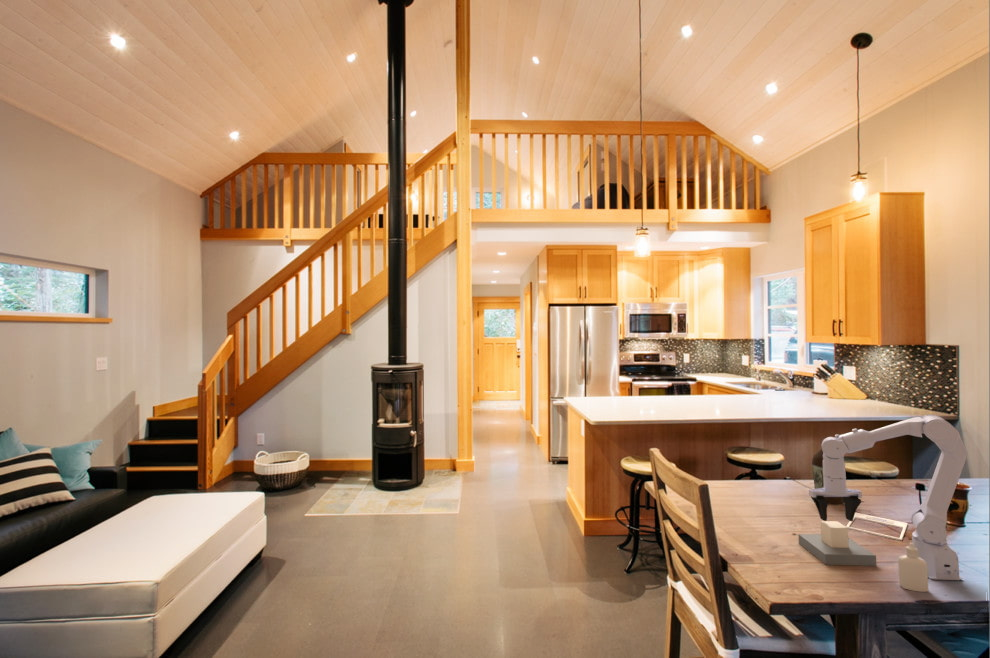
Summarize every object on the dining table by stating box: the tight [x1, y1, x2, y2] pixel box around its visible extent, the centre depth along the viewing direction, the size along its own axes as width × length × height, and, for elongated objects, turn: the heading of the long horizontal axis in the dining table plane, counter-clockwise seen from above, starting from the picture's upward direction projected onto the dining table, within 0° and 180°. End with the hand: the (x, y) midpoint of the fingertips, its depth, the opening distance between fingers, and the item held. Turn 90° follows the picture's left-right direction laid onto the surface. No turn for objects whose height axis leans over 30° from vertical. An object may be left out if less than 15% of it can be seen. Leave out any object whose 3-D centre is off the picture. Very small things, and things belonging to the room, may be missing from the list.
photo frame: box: [845, 512, 909, 542], centre depth 159 cm, size 15×1×18 cm
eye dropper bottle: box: [897, 542, 929, 593], centre depth 120 cm, size 4×6×12 cm
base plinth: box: [798, 533, 877, 567], centre depth 140 cm, size 14×14×3 cm
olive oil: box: [811, 438, 844, 506], centre depth 184 cm, size 11×11×25 cm
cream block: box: [819, 520, 849, 548], centre depth 140 cm, size 5×5×6 cm
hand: (836, 519), depth 141 cm, fingers open, 7 cm apart
